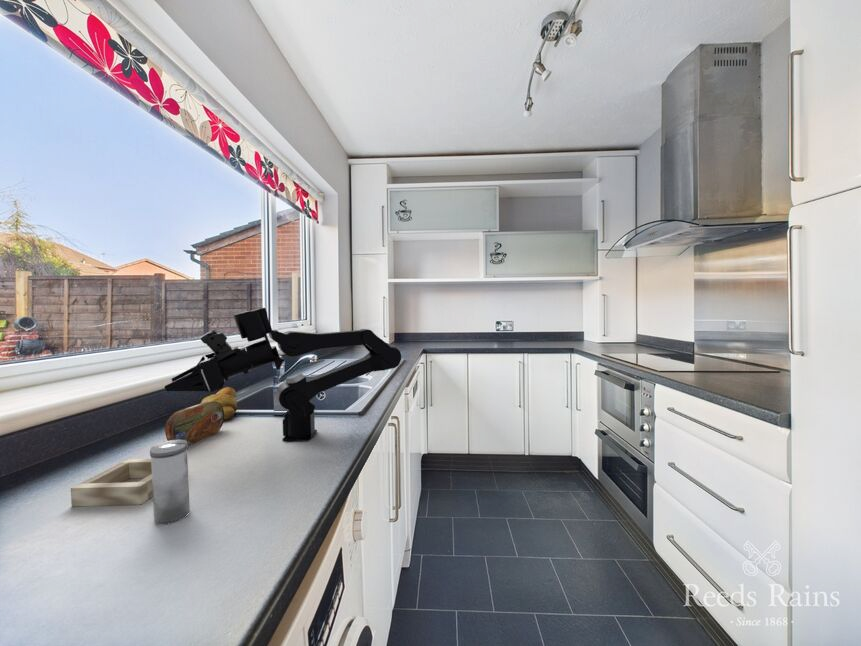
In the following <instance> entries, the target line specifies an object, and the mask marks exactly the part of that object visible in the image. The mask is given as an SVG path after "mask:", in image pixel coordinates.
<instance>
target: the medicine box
mask: <svg viewBox="0 0 861 646" xmlns="http://www.w3.org/2000/svg"><path fill="white" fill-rule="evenodd" d="M284 382H285V381H281V382H279V383H277V384H276V385H275V386H274V387H273V388H272V389H273V391H272V392H273V412H274V411H289V410H288V409H285V408H283V407H282V406H281V404H280V403H279V401H278V399H277V396H276V392H277V389H278V387H279V385H280V384H282V383H284Z"/></svg>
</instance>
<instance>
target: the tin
mask: <svg viewBox="0 0 861 646" xmlns="http://www.w3.org/2000/svg"><path fill="white" fill-rule="evenodd" d="M224 421H225V420H224V409H223V407H222V406H221V404H220V403H218V402H215V401H211V402H204V403H201V402H200V403H198V404H195V405H192V406H188V407H186V408H183V409H180V410H178V411H175V412H174V413H172V415H170V416H169V417H168V419H167V421H166V423H165V429H164V431H165V434H164V435H165V438H166V441H170V440H186V441H187V444H188V447H189V446H191V444H192V445H194V444H196V443H198V442H200V441H202V440H204V439H207V438H210V437H211V436H214V435H216V434H217V433H218V432H219V431H220V430H221V428H222V427H223V425H224Z"/></svg>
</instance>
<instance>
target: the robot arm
mask: <svg viewBox="0 0 861 646" xmlns="http://www.w3.org/2000/svg"><path fill="white" fill-rule="evenodd" d="M232 316H233V319H234V322H235V324H236V326H237V330H238V332H239V335H240V338H241V339H242V340H243V339H247V342H248V343H250V342H253V341H256V342H253V343H250V344H247V345H244V346H237V345H235V346H233V347H232V346H231V345H230V344H229V343H228V342H227V339H228V337H227V336H226V335H225V333H223V332H218V331H217V330H216V329H215V328H213V329H211V330H209V331H208V332H206V333H204V334H203V335H201V336H200V337H199V339H200V341H201V342H202V343H203V344H205V345H207V347H209V348H210V349H211V351H212V352H209V353H208V352H207V353H206V354H205V355H202V357H201V358H200V360H199V361H198V363H197V364H196V365H194V366H193V367H190V368H189V369H186V370H185V371H183V372H181V373H179V374H178V375H176V376H173V377H172V378H171V382H170V383H168V384H166V385H165V386H164V389H165V391H166V392H206V393H208V392H211V393H213V392H215V391H220V390H221V389H223V387H224V385H225V383H226V381H228V380H229V379H230V378H233V377H235V376H238V375H241V374H243V375H246V374H248V373H250V371H253V370H256V369H259V368H262V367H263V366H268V365H271V364H274V368H275V369H276V370H280V369H281V368H282V365H283V363H284V362H285V359H284V358H283V357H281V356H280V353H279V351H281V352H282V353H283V354H284V355H286V356H287V357H297V356H299V357H300V356H302V355H306V354H309V353H312V352H314V351H317V350H321V349H328V348H329V349H330V348H341V347H348V346H349V347H351V346H357V345H362V346H363V347H364V348H365V349H366V351H368V353H367V354H366V355H364V356H363V357H362V358H359V359H357V360H354V361H352V362H349V363H345V364H343V365H341V366H337V367H336V368H333V369H329V370H328V371H326V372H325V371H324V372H322V373H320V374H317V375H314V376H312V377H311V376H310V377H306V376H305V375H304V374H303V373H299V374H297V375H296V376H293V377H291V378H290V377H289V378H284V381H283V382H284V383H282V384H280V385H279V387H278V389H277V392H276V396H277V399H278V401H279V403H280V404H281V406H282V407H283V408H285V409H288V410H289V411H287V412H286V413H285V414H284V415H283V417H284V418H283V419H282V436H283V438H282V442H295V441H296V442H297V441H299V442H301V441H302V442H304V441H311V440H312V438H313V437H314V436H315V435H316V434H317V432H318V430H317V429H316V426H315V425H316V424H315V423H316V422H315V419H316V418H315V408H316V405H315V404H314V403H313V402H312V400H313V399H314V398H315V397H316V396H318V394H320V393H323V392H325V391H328V390H330V389H332V388H335V387H337V386H339V385H342V384H344V383H347V382H349V381H352V380H355V379H356V378H359V377H361V376H365V375H366V374H369V373H371V372H382V371H387V370H392V369H395V368H397V367H398V366H399V365H400V364H401V361H402V353H401V350H400V349H398V348H397V347H394V346H391V345H389V344H388V343H387V342H385V341H384V340H383V339H382V338H380V337H379V336H378V335H377V334H375V333H374V331H373V330H371V329H367V328H361V329H356V330H345V331H334V332H322V333H321V332H320V333H315V332H306V331H305V332H304V331H293V330H287V331H285V332H281V331H279V330H278V329H273V328H272V325H271V322H270V320H269V317H268V312H267V308H266V307H261V308H258V309H254V310H246V311H243V312H240V313H237V314H233V315H232ZM267 334H268V335H267ZM268 336H269V337H268ZM263 338H264V339H263ZM269 338H270V339H271V340H272V341H274V342H275V343H277V346H272V345H271V343H270V340H269ZM259 339H263V340H259ZM257 340H259V341H257ZM277 347H278V349H279V351H278V349H277ZM229 381H230V380H229Z"/></svg>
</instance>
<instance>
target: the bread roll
mask: <svg viewBox="0 0 861 646" xmlns="http://www.w3.org/2000/svg"><path fill="white" fill-rule="evenodd" d="M211 401H215V402H218V403H220V404H221V406H222V407H223V409H224V421H226V420H229V419H231V418H233V417H234V414H236V411H238V400H237V393H236V390H235V389H234V388H233V387H230V386H225V387H224V388H222V389H219V390H218V392H216V393H215V394H210V395H209V396H206V397H204V398H203V399H201V402H200V403H204V402H211Z"/></svg>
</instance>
